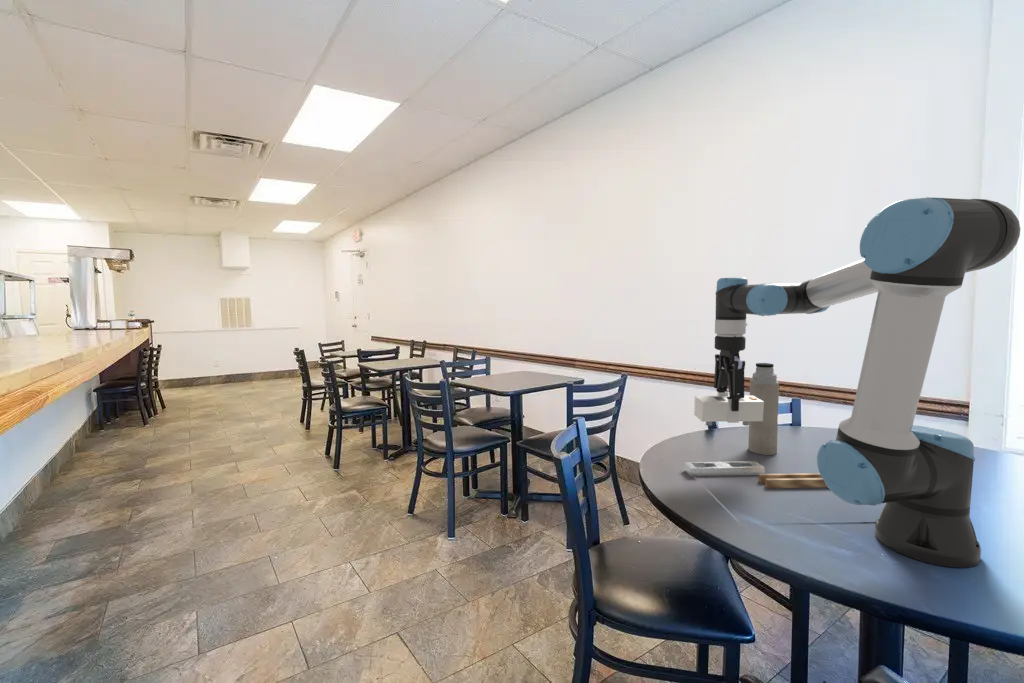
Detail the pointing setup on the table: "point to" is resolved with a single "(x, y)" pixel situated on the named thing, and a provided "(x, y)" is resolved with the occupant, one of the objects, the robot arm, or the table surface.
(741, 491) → the table surface
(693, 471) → the keyhole plate
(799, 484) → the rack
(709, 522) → the table surface
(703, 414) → the power strip
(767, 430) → the thermos bottle
